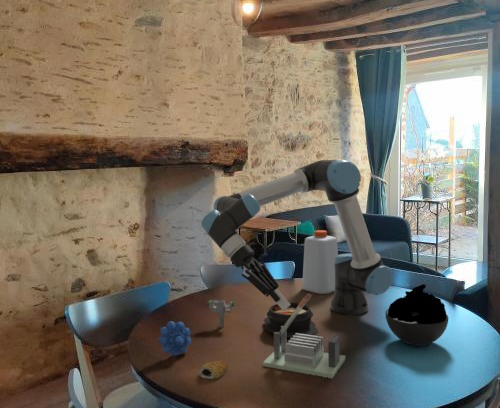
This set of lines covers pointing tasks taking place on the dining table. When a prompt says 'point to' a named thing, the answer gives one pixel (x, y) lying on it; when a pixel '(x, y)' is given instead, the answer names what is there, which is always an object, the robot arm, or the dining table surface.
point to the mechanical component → (220, 309)
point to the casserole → (298, 325)
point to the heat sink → (306, 349)
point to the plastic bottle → (319, 263)
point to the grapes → (175, 338)
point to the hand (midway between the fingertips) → (287, 307)
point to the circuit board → (319, 369)
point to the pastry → (213, 369)
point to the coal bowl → (417, 317)
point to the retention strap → (295, 313)
